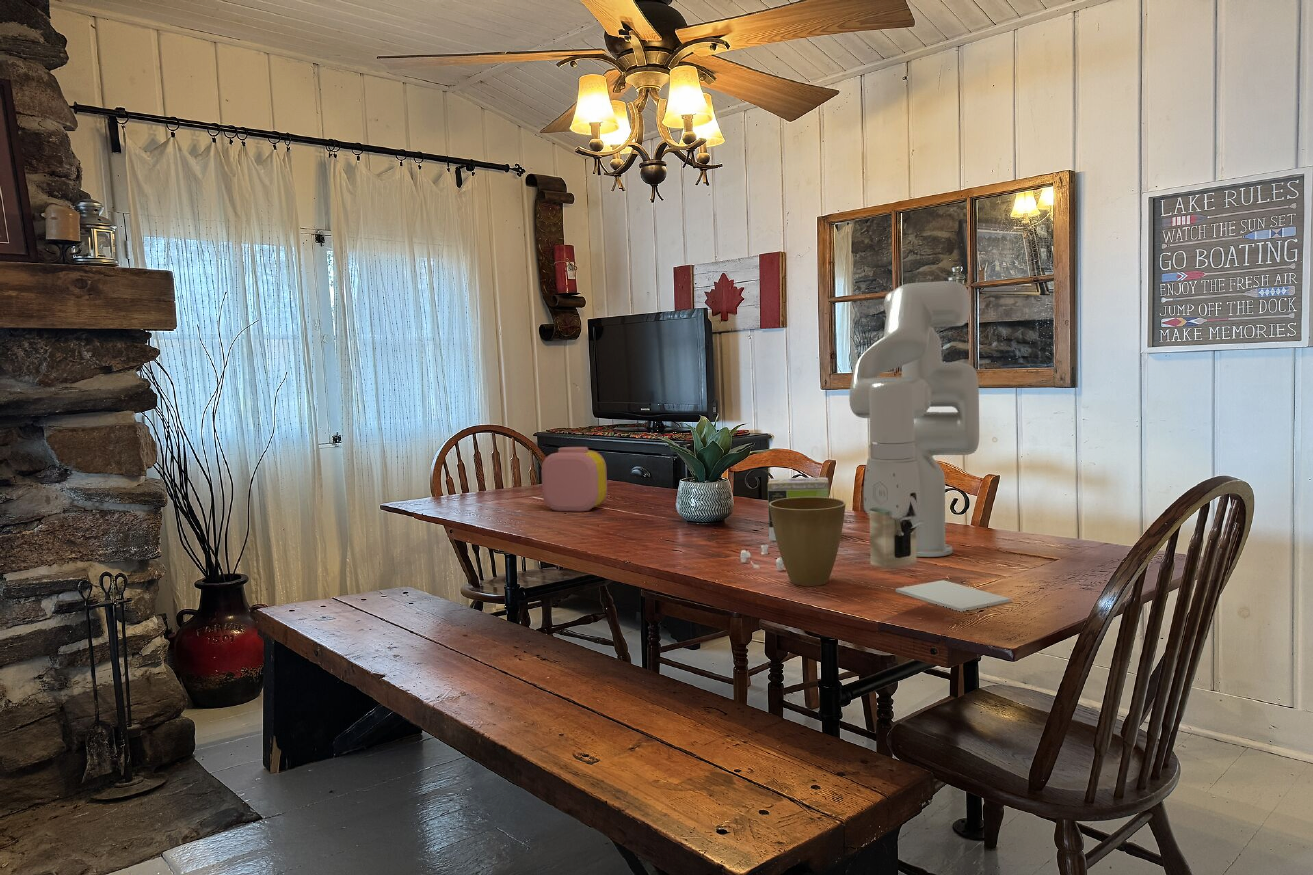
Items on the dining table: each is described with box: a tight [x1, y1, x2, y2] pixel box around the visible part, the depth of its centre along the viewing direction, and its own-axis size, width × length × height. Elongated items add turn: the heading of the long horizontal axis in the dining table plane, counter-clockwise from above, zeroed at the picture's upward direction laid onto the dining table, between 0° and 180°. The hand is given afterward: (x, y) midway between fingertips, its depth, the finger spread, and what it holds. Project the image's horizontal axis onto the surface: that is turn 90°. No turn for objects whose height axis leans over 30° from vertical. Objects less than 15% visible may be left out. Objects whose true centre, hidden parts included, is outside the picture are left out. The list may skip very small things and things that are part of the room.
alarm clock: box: [540, 446, 608, 513], centre depth 270 cm, size 18×11×19 cm, turn 74°
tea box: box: [767, 476, 830, 542], centre depth 216 cm, size 15×10×15 cm, turn 80°
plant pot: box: [769, 497, 847, 587], centre depth 171 cm, size 15×15×16 cm
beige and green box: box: [869, 508, 917, 570], centre depth 153 cm, size 4×7×10 cm, turn 117°
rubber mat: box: [895, 579, 1011, 613], centre depth 158 cm, size 16×12×1 cm
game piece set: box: [739, 544, 785, 572], centre depth 191 cm, size 19×20×4 cm
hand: (893, 552), depth 153 cm, fingers closed on beige and green box, 4 cm apart
